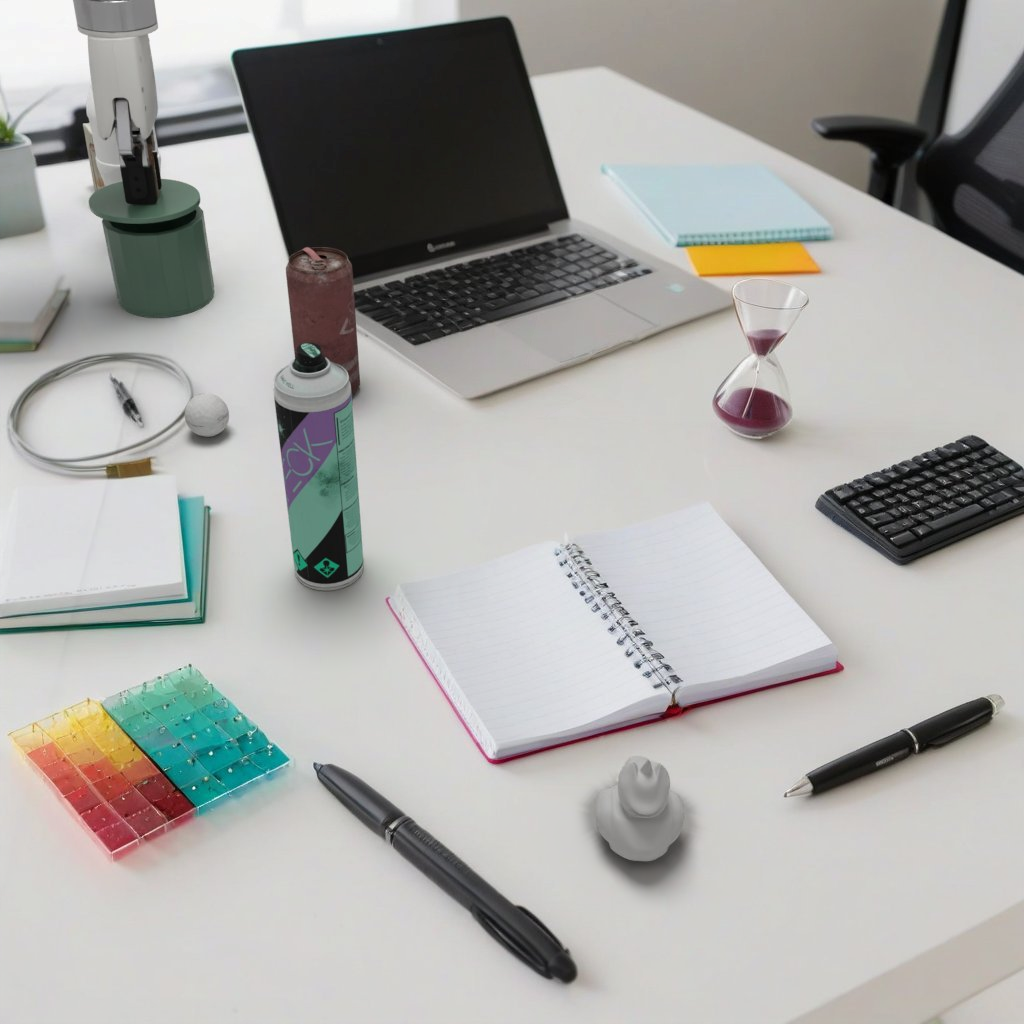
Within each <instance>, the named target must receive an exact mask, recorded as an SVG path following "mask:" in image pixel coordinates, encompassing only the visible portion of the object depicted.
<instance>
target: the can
mask: <svg viewBox="0 0 1024 1024" xmlns="http://www.w3.org/2000/svg"><path fill="white" fill-rule="evenodd" d="M285 277H286V286H287V287H286V288H287V296H288V304H289V314H290V325H291V333H292V343H293V353H294V359H295V358H296V357H297V347H298V346H299V345H301V344H303V343H315V344H318V345H319V346H320V347H321V351H322V355H323V356H324V357H326V358H327V359H328V360H329V361H330V362H334V363H336V364H339V365H340V366H342V367H343V368H344V369H346V371H347V372H348V375H349V381H350V384H351V394H352V397H354V396H355V395H356V394H357V392H358V390H359V388H360V387H361V374H360V362H359V361H360V360H359V348H358V347H359V346H358V333H357V332H358V331H357V320H356V319H357V318H356V301H355V289H354V273H353V264H352V262H351V261H350V259H349V258H348V255H347V254H346V252H345V251H342V250H340V249H337V248H334V247H324V246H319V247H318V246H316V247H315V246H314V247H309V246H306V247H304V248H302V249H301V250H298V251H296V252H294V253H293V254H290V256H289V258H288V262H287V264H286V266H285Z"/></svg>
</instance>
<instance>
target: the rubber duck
mask: <svg viewBox="0 0 1024 1024" xmlns="http://www.w3.org/2000/svg"><path fill="white" fill-rule="evenodd" d="M670 789H671V778H670V775H669V772H668V769H667V768H666V767H665V765H663V764H662V763H660V762H657V761H654V760H650V759H649V758H647V757H645V756H640V755H635V756H634V755H633V756H630V757H629V758H627V759H626V761H625V762H624V765H623V766H622V767H621V769H620V771H619V775H618V781H617V784H615V785H613V786H612V787H609V788H604V789H602V790H600V791H599V792H598V793H597V794H596V797H595V801H594V808H595V811H594V812H595V823H596V824H595V825H596V828H597V830H598V832H599V834H600V836H602V838H603V839H604V840H605V841H607V843H608V844H609V848H610V849H611V850H612V851H613V852H614V853H615V854H616V855H619V856H620V857H622V858H624V859H626V860H629V861H635V862H652V861H655V860H657V859H659V858H661V857H663V856H664V854H666V853H667V851H668V849H669V848H670V845H672V844H673V843H674V842H675V841H676V840H678V837H679V836H680V835H681V832H682V830H683V827H684V823H685V808H684V807H685V806H684V801H683V798H682V797H681V795H680V793H678V792H676V791H673V790H670Z"/></svg>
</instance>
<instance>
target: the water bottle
mask: <svg viewBox="0 0 1024 1024" xmlns="http://www.w3.org/2000/svg"><path fill="white" fill-rule="evenodd" d="M85 107H86V108H85V111H86V117H87V118H88V121H89V122H88V123H90V127H91V132H92V137H93V143H94V148H95V153H96V157H95V159H96V164H97V168H98V170H99V172H100V174H101V177H102V179H103V182H104V185H105V186H108V185H111V184H114V183H118V182H122V176H121V170H120V160H119V153H118V146H117V140H116V132H115V127H114V130H113V132H112V134H111V136H110V138H108V139H107V140H102V139H101V138H100V137H99V135H98V128H97V121H96V113H95V106H94V98H93V91H92V83H91V84H90V87H89V90H88V94H87V97H86V105H85ZM153 134H154V141H155V151H153V152H157V155H158V162H159V169H160V172H161V170H162V169H161V166H162V165H161V164H162V156H161V152H160V150H159V145H158V139H157V133H156V128H155V125H154V126H153ZM160 176H161V174H160Z"/></svg>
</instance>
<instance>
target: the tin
mask: <svg viewBox="0 0 1024 1024" xmlns="http://www.w3.org/2000/svg"><path fill="white" fill-rule="evenodd" d="M101 225H102V230H103V235H104V239H105V244H106V249H107V254H108V259H109V263H110V268H111V273H112V277H113V278H112V279H113V283H114V289H115V294H116V298H117V300H118V303H119V306H120V307H121V308H122V309H123V310H124V311H125V312H127V313H129V314H132V315H135V316H138V317H144V318H158V319H159V318H161V319H162V318H171V317H178V316H183V315H187V314H191V313H193V312H196V311H198V310H200V309H202V308H204V307H205V306H207V305H208V304H210V302H211V301H212V300H213V298H214V297H215V296H214V295H215V283H214V275H213V268H212V262H211V261H212V260H211V256H210V248H209V240H208V234H207V227H206V220H205V213H204V209H202V208H201V207H200V205H199V206H198V207H197V208H196V209H195V210H194V211H192V212H190V213H188V214H186V215H184V216H182V217H179V218H176V219H172V220H168V221H163V222H156V223H146V224H129V223H118V222H113V221H108V220H105V219H101Z"/></svg>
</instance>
